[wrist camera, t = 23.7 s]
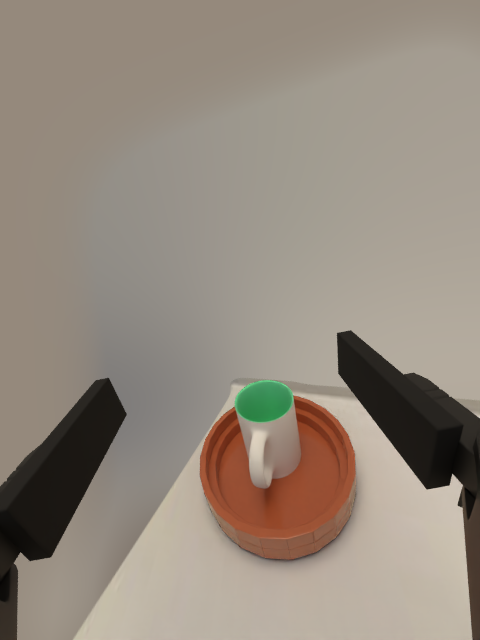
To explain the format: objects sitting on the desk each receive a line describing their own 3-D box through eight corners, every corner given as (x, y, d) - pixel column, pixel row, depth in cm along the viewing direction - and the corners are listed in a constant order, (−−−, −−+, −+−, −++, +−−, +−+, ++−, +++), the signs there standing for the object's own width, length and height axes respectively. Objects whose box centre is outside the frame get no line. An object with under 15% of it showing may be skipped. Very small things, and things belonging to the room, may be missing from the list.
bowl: (188, 555, 27) (176, 533, 25) (222, 416, 45) (217, 398, 44) (384, 569, 23) (386, 544, 21) (333, 410, 41) (332, 390, 40)
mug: (302, 515, 27) (292, 455, 24) (237, 507, 30) (218, 450, 26) (300, 430, 38) (293, 379, 34) (252, 429, 40) (241, 380, 36)
